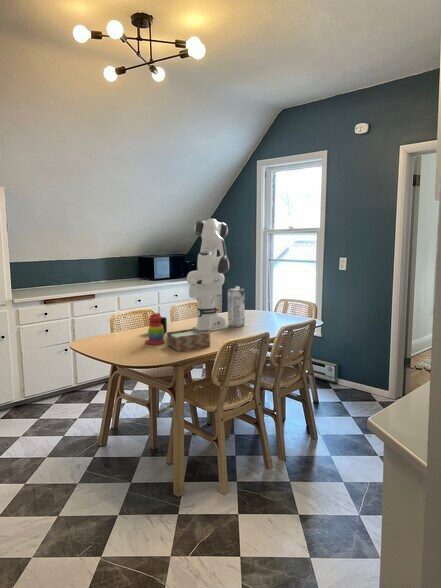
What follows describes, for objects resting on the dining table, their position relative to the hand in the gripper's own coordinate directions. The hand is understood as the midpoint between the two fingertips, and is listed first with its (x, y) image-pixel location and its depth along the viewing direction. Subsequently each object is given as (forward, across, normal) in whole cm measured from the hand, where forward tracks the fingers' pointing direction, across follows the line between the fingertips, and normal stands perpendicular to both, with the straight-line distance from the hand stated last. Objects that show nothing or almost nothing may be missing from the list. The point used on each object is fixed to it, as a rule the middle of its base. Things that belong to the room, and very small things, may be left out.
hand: (205, 304), depth 249 cm
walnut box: (+23, +12, 0) cm, 26 cm away
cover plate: (+17, +12, 0) cm, 21 cm away
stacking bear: (+24, +24, -18) cm, 38 cm away
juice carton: (+23, -41, -29) cm, 55 cm away
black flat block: (+23, +12, -41) cm, 49 cm away
